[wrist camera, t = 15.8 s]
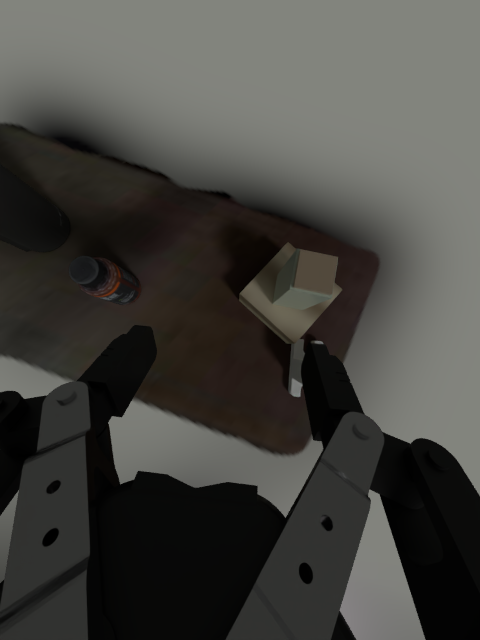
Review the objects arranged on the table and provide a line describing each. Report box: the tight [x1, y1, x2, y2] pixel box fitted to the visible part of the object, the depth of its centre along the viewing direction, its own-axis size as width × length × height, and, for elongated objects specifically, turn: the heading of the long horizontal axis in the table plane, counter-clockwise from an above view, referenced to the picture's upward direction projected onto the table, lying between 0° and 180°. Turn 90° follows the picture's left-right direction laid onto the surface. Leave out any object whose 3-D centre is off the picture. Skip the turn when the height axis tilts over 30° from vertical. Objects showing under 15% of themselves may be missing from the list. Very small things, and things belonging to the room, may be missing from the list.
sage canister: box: [272, 249, 338, 310], centre depth 29 cm, size 5×5×11 cm
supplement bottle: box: [69, 256, 141, 305], centre depth 34 cm, size 6×6×11 cm
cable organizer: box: [288, 339, 323, 397], centre depth 34 cm, size 5×10×10 cm, turn 174°
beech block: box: [239, 243, 342, 344], centre depth 38 cm, size 12×12×6 cm
